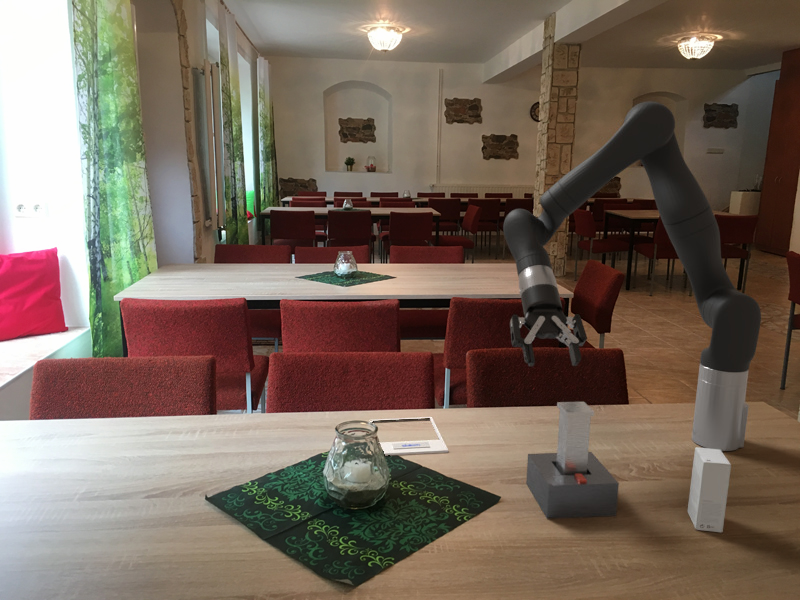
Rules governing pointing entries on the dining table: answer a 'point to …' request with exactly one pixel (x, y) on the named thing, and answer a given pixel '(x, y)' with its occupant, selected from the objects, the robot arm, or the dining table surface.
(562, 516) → the block
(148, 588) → the dining table surface
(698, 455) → the skincare box
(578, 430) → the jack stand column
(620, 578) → the dining table surface
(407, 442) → the photo frame
